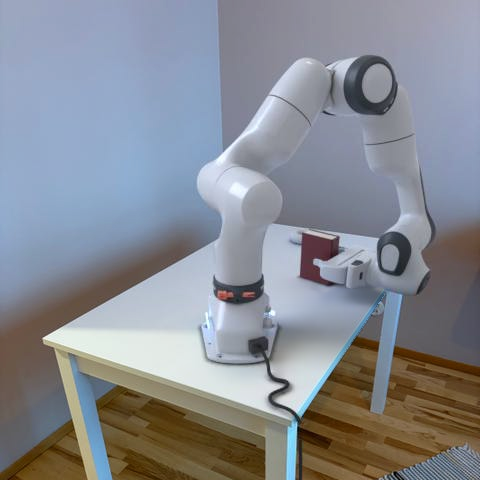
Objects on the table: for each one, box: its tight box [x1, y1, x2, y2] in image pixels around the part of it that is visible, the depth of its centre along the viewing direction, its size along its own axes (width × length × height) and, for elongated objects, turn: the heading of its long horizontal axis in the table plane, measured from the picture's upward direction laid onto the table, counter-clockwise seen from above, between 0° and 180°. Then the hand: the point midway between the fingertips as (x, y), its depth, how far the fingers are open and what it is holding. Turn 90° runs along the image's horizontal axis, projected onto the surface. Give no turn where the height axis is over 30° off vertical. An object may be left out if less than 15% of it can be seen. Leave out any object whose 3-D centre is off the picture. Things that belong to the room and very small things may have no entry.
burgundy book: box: [299, 228, 341, 287], centre depth 135 cm, size 4×10×14 cm, turn 50°
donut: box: [289, 228, 310, 245], centre depth 166 cm, size 10×4×10 cm
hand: (323, 255), depth 134 cm, fingers open, 8 cm apart
